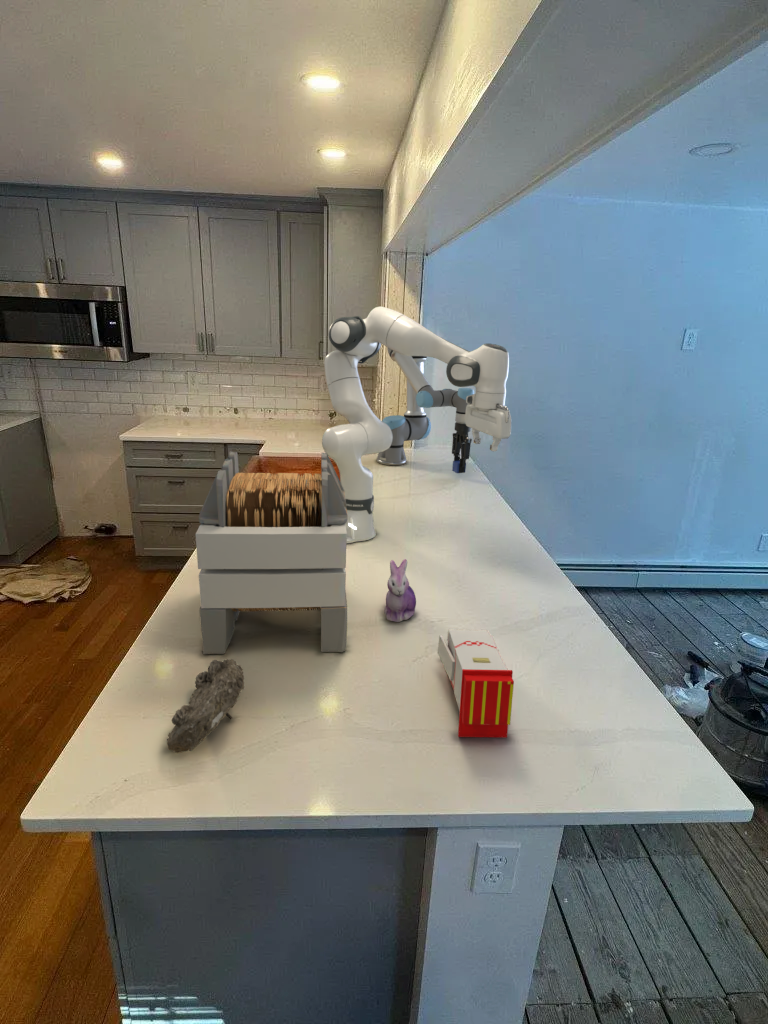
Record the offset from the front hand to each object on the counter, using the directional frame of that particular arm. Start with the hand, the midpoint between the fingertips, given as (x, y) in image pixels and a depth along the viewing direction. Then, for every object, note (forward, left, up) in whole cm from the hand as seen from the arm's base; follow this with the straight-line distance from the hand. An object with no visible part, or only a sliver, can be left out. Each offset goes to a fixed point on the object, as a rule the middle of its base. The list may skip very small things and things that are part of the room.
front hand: (484, 447), depth 172 cm
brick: (-19, +89, -33) cm, 97 cm away
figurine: (-13, -44, -36) cm, 59 cm away
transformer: (-42, -56, -36) cm, 79 cm away
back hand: (-19, +89, -33) cm, 97 cm away
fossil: (-37, -94, -36) cm, 108 cm away
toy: (+9, -70, -36) cm, 80 cm away
